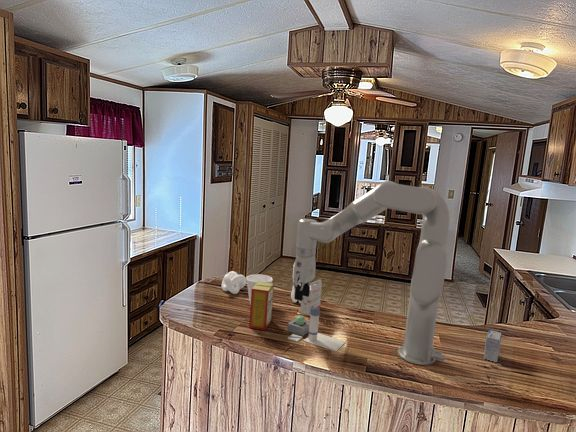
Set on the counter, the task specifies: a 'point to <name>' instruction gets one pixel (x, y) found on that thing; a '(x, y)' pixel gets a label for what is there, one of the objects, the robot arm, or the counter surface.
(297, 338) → the card
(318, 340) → the paper
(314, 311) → the marker
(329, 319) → the counter surface
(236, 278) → the white lumpy rounded part
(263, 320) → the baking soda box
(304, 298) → the ink cartridge box
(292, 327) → the button housing
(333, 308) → the counter surface
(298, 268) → the robot arm
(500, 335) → the medicine box
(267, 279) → the cup
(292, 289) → the water bottle
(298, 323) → the button
